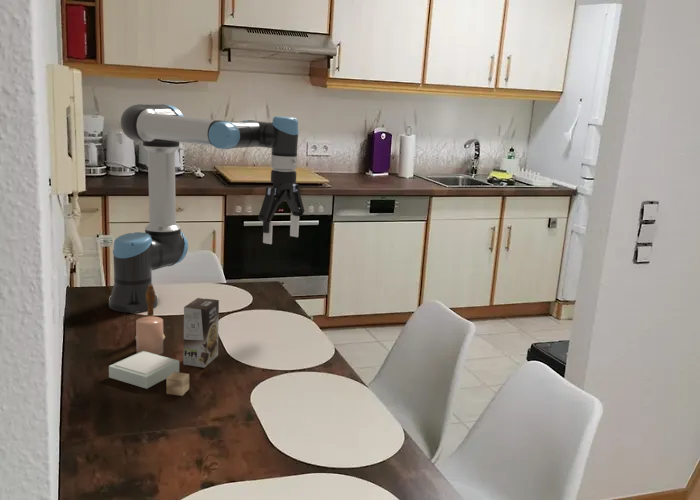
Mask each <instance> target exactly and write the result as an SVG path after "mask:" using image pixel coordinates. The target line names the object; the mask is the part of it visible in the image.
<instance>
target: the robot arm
mask: <svg viewBox="0 0 700 500" xmlns="http://www.w3.org/2000/svg"><path fill="white" fill-rule="evenodd" d="M120 126H121V130H122V132H123V134H124V135H125V137H127V138H129V139H130V140H132V141H135V142H140V143H141V142H142V147H143V148H144V150H146V151H147V165H148V166H147V167H148V168H147V170H148V172H147V173H148V176H147V177H148V204H149V205H148V211H149V215H148V216H149V222H148V224H147V225H146V226H145V227H144V228H145V229H144V232H140V231H139V232H129V233H124V234H121V235H118V237H116V238H115V239H114V242H113V248H112V254H113V282H114V283H113V287H112V289H111V293H110V296H109V299H108V308H109V309H110V310H113V311H116V312H120V313H140V312H141V313H142V312H146V311H147V312H148V305H147V302H146V291H147V288H148V285H153V281H152V280H153V279H152V278H153V277H152V271H156V270H160V269H163V268H167V267H172V266H175V265H177V264H179V263H180V262H182V261H183V260H184V259H185V258H186V257H187V254H188V250H189V242H188V238H187V237H186V236H185V234H184V232H183V231H182V229H181V226H180V225H179V224H178V223H177V214H176V213H177V210H176V209H177V208H176V206H177V205H176V202H177V201H176V151H177V150H179V148H180V143H186V144H193V145H194V144H196V145H202V146H209V147H210V146H211V147H214V148H216V149H221V150H231V149H239V148H240V149H241V148H255V147H256V148H267V149H271V161H270V168H271V171H270V182H271V183H272V184H273V186H272V187H266V188H265V195H264V199H263V201H262V204H261V206H260V210H259V214H258V216H257V220H259V221H260V222H262V233H263V236H262V243H263V244H267V245H268V244H269V245H272V244H273V222H272V219H273V218H274V216H275V214H276V212H277V210H278V207H279V206H280V205H281V204H282V203H284V202H286V204H287V206H288V208H289V209H290V211H291V215H290V221H289V223H290V225H289V228H290V229H289V237H294V238H299V228H300V218H301V217H303V216H304V213H305V208H304V203H303V199H302V196H301V195H302V194H301V193H300V192H301V191H300V189H301V188H300V184H298V183H297V171H296V170H297V164H298V141H299V133H300V132H299V120H298V119H297V118H296V117H292V116H281V115H280V116H279V115H278V116H277V115H276V116H274V117H272V122H266V121H259V120H253V119H252V120H250V119H247V120H242V121H232V120H231V121H229V120H228V121H227V120H221V119H220V120H218V119H217V120H216V119H209V118H199V117H191V116H184V114H183V113H182V111H180V109H179V108H177V107H176V106H174V105H170V104H169V105H168V104H143V103H142V104H140V103H139V104H133V105H130V106H129V107H127V108H126V109H125V110H124V111H123V113H122V115H121V116H120ZM157 306H158V296H157V295H156V294H155V302H154V305H153V309H155V308H156V307H157Z"/></svg>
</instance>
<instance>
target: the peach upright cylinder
mask: <svg viewBox="0 0 700 500" xmlns="http://www.w3.org/2000/svg"><path fill="white" fill-rule="evenodd" d="M135 323H136V324H135V325H136V326H135V327H136V329H135V331H136V336H135V337H136V339H135V341H136V343H135V344H136V345H135V346H136V354H137V353H139V352H141V351H146V352H149V353H153V354H157V355H160V356H161V355H162V354H164V340H163V334H164V319H163V318H161V317H159V316H154V317H147V316H143V317H140V318H137V319H136V321H135Z"/></svg>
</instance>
